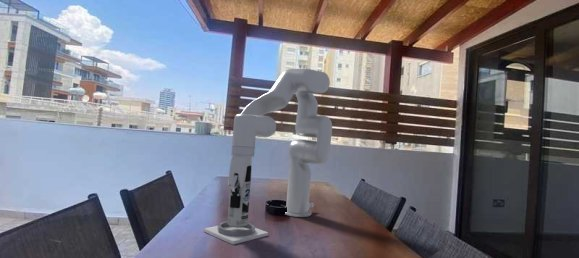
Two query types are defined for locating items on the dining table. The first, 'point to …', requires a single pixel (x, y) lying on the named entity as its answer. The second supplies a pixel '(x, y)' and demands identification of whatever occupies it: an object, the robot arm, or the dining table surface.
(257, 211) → the dining table surface
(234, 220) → the spray can
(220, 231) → the collar plate
